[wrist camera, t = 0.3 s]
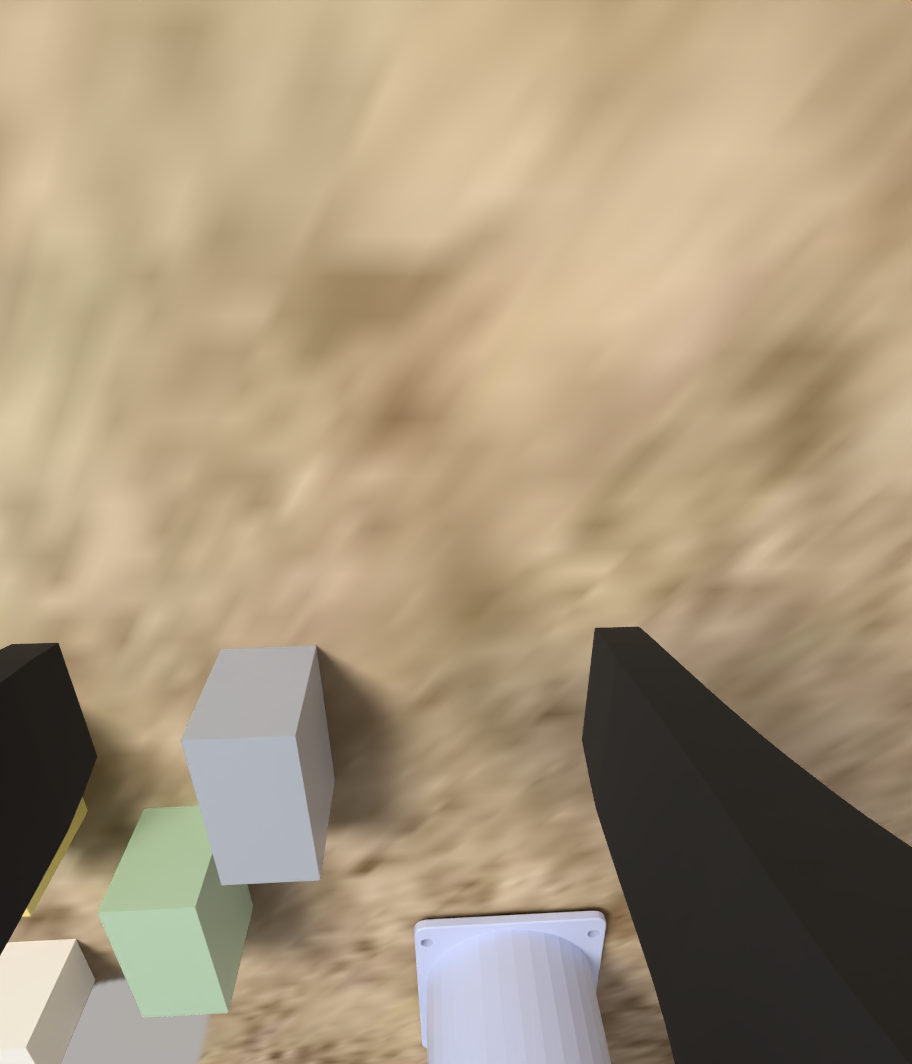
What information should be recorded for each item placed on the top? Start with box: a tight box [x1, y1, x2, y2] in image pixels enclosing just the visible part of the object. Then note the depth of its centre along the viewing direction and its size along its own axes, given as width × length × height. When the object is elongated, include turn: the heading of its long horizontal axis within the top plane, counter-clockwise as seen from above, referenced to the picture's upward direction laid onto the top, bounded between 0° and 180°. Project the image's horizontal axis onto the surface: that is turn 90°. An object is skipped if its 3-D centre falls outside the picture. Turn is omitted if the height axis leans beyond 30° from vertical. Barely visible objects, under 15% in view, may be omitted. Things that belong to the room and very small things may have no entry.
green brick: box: [97, 806, 253, 1018], centre depth 24 cm, size 6×3×4 cm, turn 1°
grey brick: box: [181, 645, 335, 885], centre depth 21 cm, size 6×3×4 cm, turn 1°
